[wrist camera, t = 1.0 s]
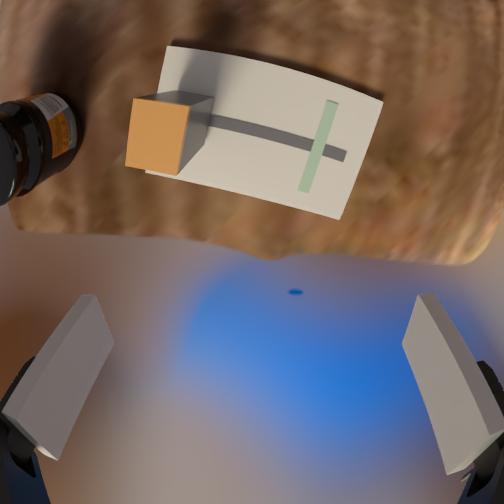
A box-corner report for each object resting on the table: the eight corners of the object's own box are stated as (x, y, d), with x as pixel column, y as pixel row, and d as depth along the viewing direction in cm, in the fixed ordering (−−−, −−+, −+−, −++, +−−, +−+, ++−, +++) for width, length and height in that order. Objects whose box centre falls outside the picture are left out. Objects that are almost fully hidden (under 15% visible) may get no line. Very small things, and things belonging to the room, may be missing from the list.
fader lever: (175, 90, 26) (133, 98, 17) (214, 96, 26) (189, 106, 18) (166, 137, 28) (125, 165, 20) (204, 144, 29) (176, 175, 20)
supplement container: (80, 80, 26) (8, 95, 16) (92, 164, 32) (31, 207, 21) (20, 102, 26) (-47, 125, 16) (33, 175, 32) (-25, 215, 22)
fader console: (170, 46, 24) (167, 45, 23) (380, 101, 26) (384, 102, 25) (148, 170, 32) (144, 172, 31) (337, 216, 34) (339, 220, 33)
